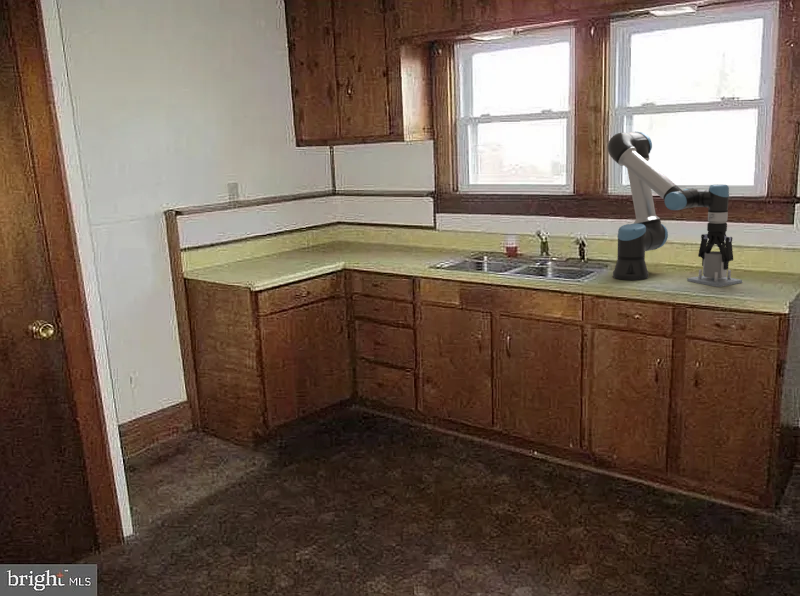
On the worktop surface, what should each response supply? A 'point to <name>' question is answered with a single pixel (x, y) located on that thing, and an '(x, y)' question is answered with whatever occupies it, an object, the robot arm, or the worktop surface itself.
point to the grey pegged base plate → (715, 280)
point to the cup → (712, 264)
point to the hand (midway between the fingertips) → (714, 275)
